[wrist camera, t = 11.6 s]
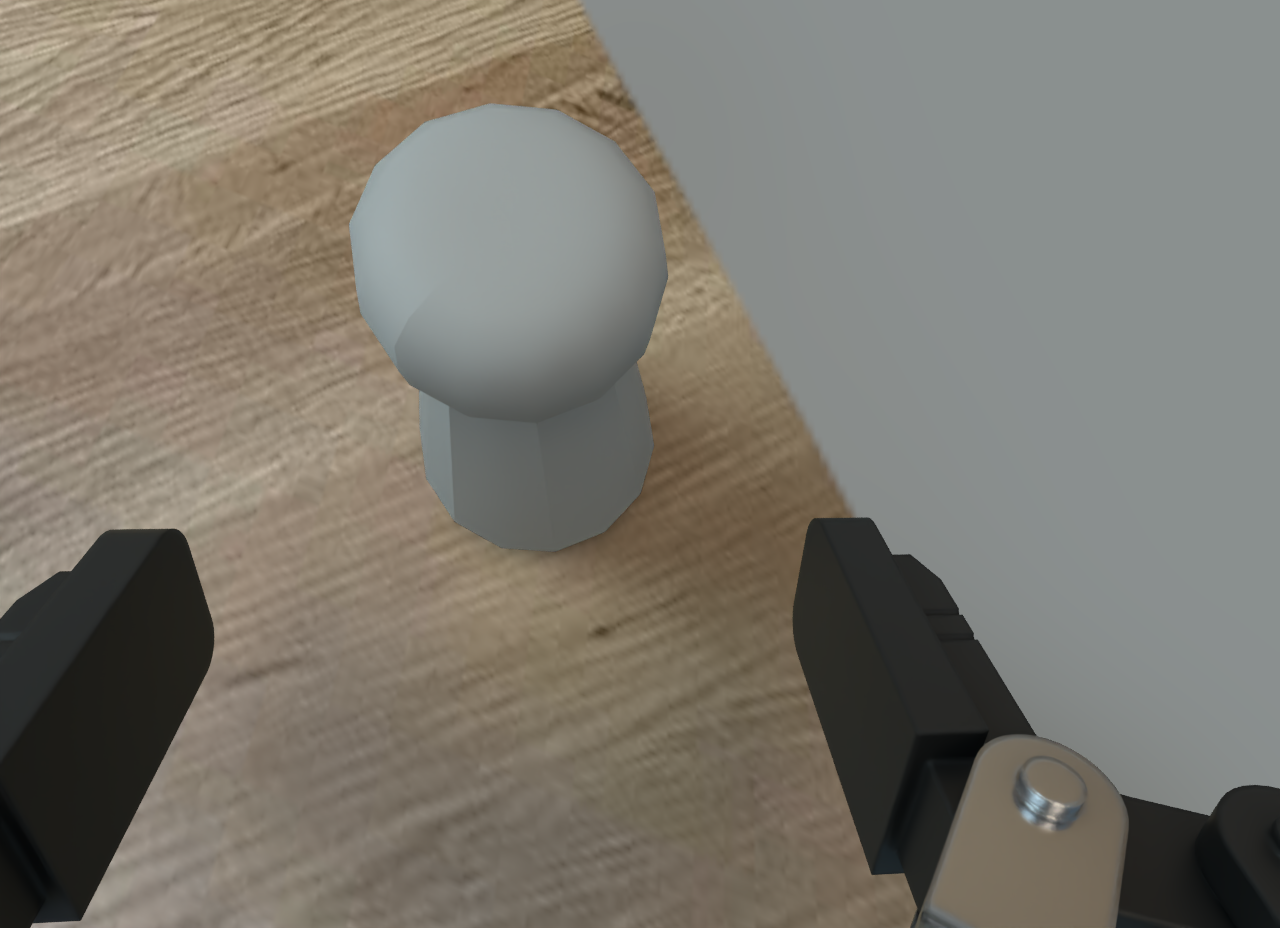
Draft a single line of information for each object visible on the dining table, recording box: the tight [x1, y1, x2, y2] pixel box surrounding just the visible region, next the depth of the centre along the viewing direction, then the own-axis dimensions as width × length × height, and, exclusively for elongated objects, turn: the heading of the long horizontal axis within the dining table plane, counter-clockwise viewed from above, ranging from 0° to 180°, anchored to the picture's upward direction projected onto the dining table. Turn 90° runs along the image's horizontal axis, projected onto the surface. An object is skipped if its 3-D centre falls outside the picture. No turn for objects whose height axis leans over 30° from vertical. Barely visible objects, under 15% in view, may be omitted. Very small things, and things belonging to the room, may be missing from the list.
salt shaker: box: [349, 104, 668, 552], centre depth 16 cm, size 6×6×13 cm
